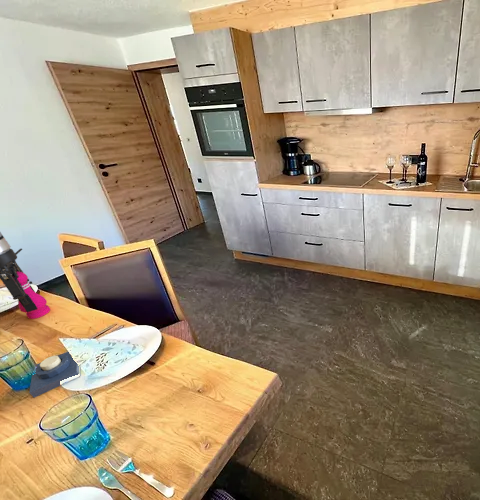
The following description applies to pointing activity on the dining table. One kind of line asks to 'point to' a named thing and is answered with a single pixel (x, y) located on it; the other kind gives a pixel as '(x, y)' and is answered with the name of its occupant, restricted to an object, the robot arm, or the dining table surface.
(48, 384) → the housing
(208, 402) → the dining table surface
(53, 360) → the beige round button
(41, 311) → the pepper mill
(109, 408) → the dining table surface
